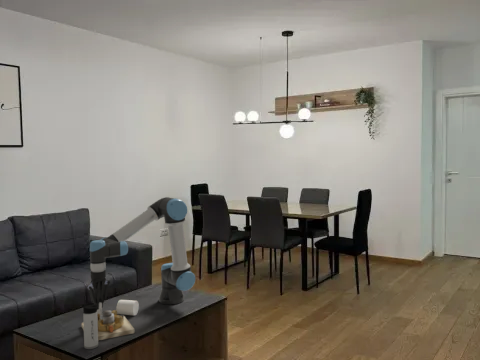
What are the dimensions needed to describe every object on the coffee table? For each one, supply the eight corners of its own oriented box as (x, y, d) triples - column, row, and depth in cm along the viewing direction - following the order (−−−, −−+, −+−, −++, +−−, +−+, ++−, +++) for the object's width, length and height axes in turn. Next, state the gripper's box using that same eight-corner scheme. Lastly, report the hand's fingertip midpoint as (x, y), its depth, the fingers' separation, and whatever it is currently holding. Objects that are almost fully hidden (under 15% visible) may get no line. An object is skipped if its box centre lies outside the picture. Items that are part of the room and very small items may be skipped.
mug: (133, 317, 242) (132, 303, 242) (116, 316, 244) (115, 302, 244) (142, 310, 254) (141, 296, 253) (126, 308, 256) (125, 295, 255)
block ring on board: (123, 318, 240) (123, 301, 240) (134, 332, 221) (134, 314, 221) (81, 326, 230) (81, 308, 229) (89, 342, 211) (88, 323, 210)
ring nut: (119, 317, 236) (118, 308, 236) (127, 328, 220) (127, 318, 220) (88, 323, 228) (88, 313, 228) (95, 335, 213) (95, 325, 213)
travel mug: (87, 343, 210) (85, 302, 208) (100, 343, 209) (99, 302, 208) (81, 349, 203) (79, 306, 202) (94, 349, 203) (93, 307, 202)
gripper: (104, 266, 235) (105, 309, 236) (82, 272, 224) (84, 317, 226) (113, 268, 230) (114, 312, 232) (91, 274, 220) (93, 320, 221)
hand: (99, 314), depth 229 cm, fingers closed
